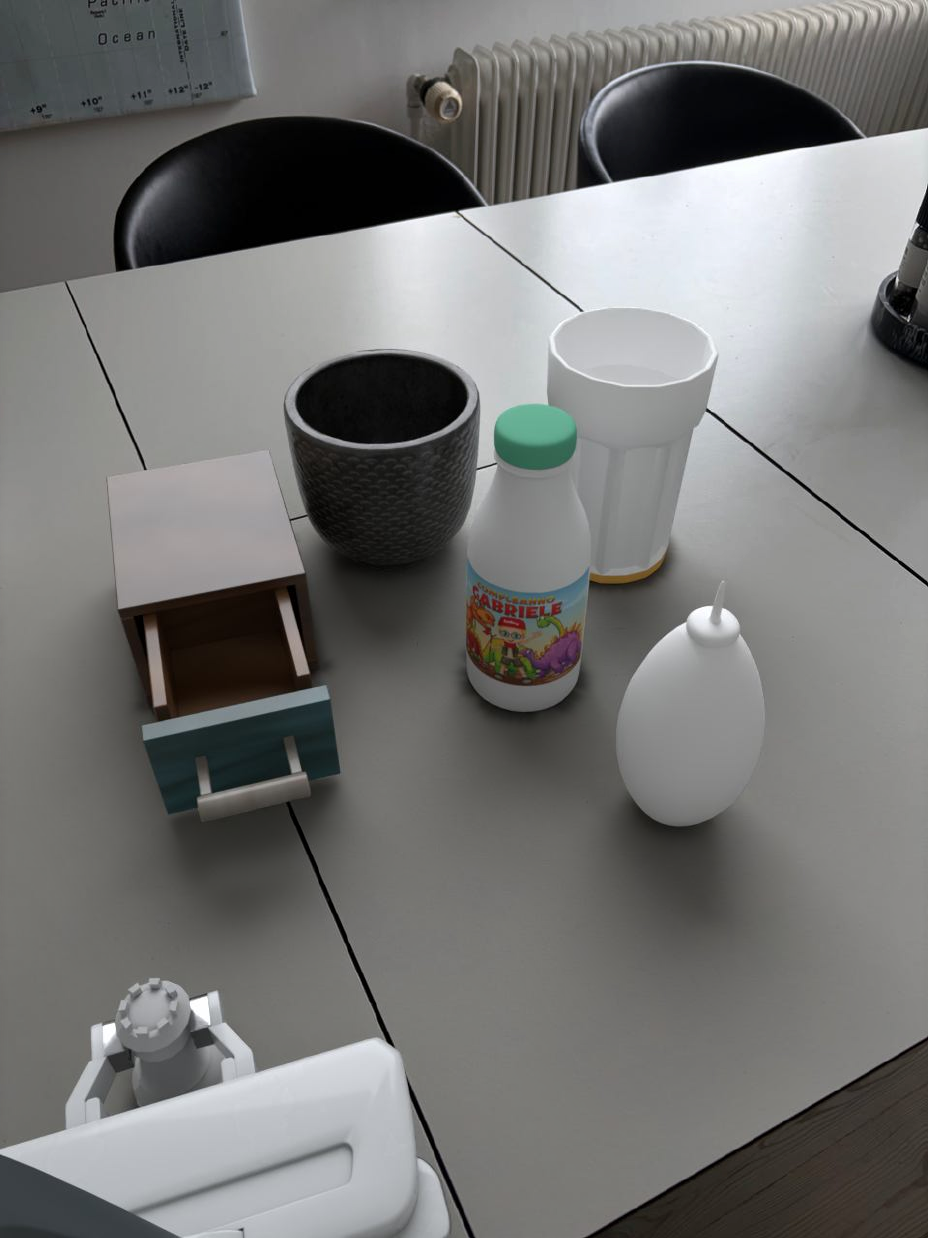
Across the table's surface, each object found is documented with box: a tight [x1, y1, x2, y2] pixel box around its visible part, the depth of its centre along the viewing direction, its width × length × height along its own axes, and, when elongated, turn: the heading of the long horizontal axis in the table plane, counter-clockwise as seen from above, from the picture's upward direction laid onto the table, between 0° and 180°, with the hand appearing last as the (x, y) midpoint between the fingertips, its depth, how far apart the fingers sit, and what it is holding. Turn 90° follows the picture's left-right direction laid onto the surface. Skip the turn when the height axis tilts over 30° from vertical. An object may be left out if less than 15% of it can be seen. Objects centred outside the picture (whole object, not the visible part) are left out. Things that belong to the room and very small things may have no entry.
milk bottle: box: [465, 403, 591, 713], centre depth 62 cm, size 8×8×20 cm
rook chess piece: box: [114, 977, 226, 1108], centre depth 46 cm, size 4×4×8 cm
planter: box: [283, 348, 481, 571], centre depth 75 cm, size 14×14×13 cm
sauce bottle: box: [615, 580, 766, 827], centre depth 55 cm, size 8×8×18 cm
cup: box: [546, 306, 719, 584], centre depth 73 cm, size 11×11×17 cm
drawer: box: [140, 586, 342, 823], centre depth 61 cm, size 18×10×7 cm, turn 17°
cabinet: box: [105, 449, 320, 705], centre depth 70 cm, size 15×12×9 cm
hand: (157, 1013), depth 46 cm, fingers closed on rook chess piece, 3 cm apart
